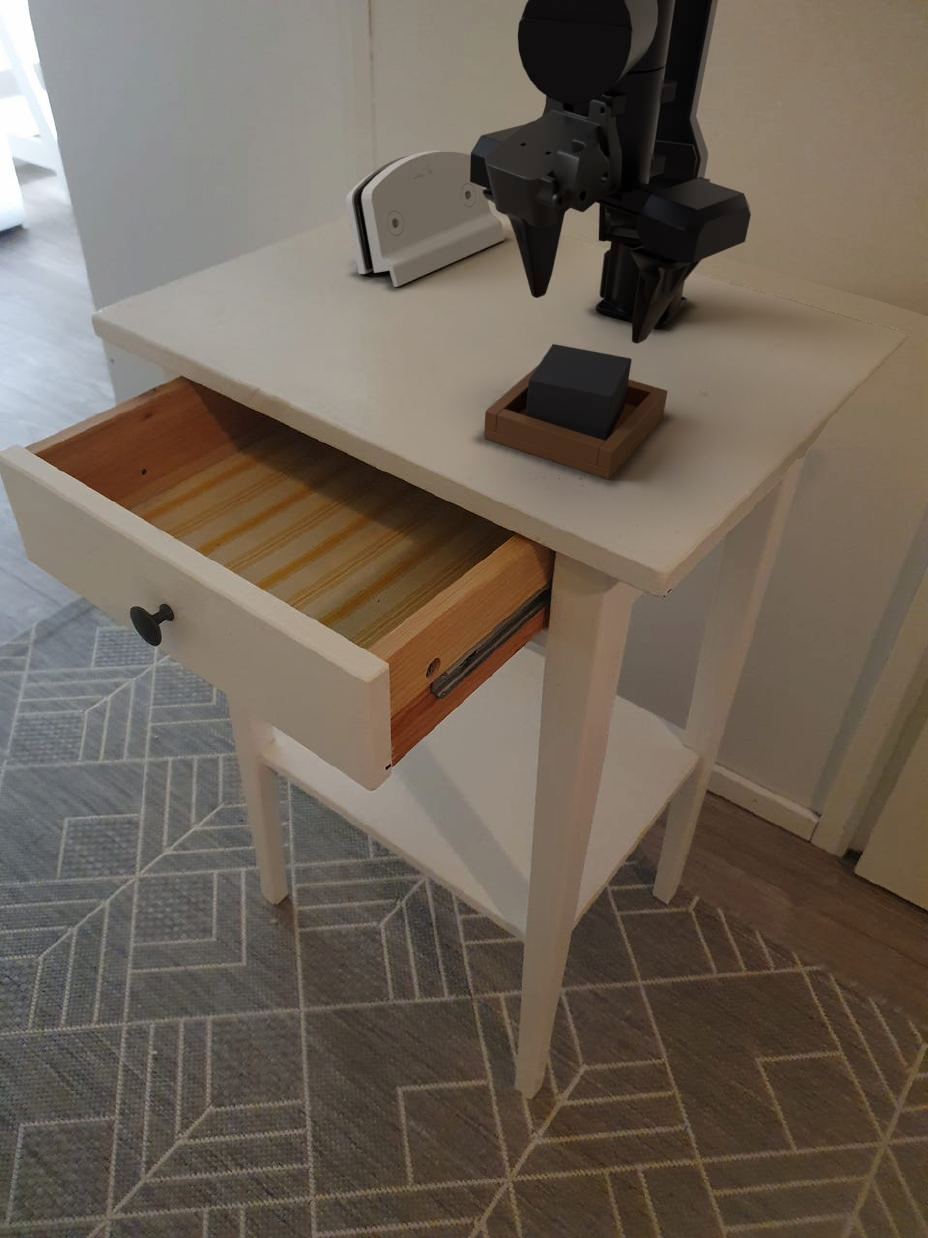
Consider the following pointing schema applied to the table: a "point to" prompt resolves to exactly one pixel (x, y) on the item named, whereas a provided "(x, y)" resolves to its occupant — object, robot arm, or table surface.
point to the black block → (579, 390)
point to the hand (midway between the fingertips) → (586, 317)
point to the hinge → (419, 216)
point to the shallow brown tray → (570, 446)
